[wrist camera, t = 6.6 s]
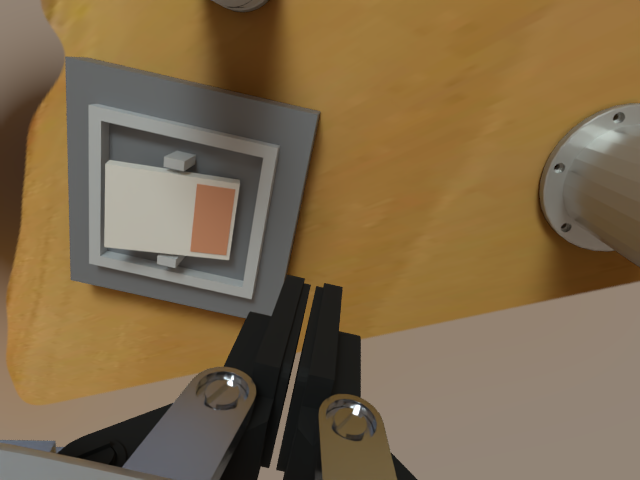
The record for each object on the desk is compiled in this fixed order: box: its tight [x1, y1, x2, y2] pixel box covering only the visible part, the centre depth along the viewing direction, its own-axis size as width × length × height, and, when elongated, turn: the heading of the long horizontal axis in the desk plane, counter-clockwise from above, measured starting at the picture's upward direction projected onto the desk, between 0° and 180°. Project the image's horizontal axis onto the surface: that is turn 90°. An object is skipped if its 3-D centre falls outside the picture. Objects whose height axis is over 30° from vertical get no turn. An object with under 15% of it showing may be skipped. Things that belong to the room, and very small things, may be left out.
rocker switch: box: [104, 160, 240, 260], centre depth 34 cm, size 10×7×1 cm
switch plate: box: [65, 57, 320, 318], centre depth 36 cm, size 20×20×6 cm
